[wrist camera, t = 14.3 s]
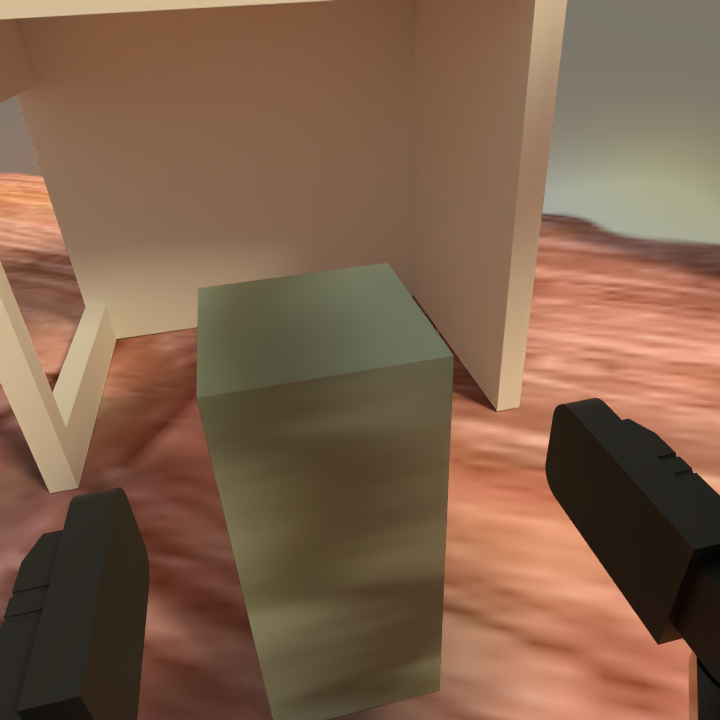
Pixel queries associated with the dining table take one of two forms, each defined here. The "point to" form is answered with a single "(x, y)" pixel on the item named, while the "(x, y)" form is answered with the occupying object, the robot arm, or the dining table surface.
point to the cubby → (278, 169)
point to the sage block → (331, 480)
